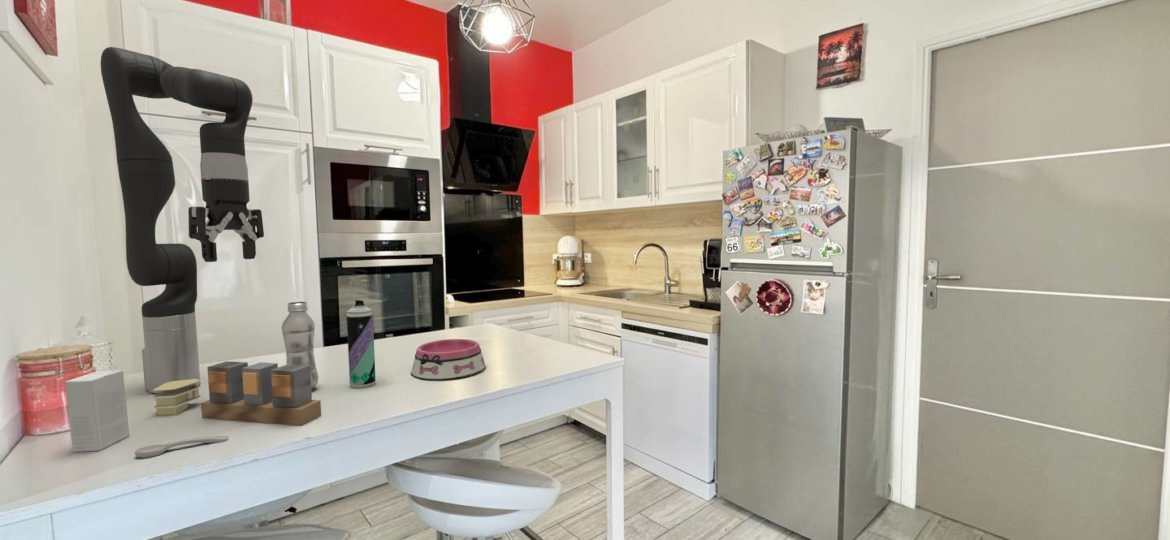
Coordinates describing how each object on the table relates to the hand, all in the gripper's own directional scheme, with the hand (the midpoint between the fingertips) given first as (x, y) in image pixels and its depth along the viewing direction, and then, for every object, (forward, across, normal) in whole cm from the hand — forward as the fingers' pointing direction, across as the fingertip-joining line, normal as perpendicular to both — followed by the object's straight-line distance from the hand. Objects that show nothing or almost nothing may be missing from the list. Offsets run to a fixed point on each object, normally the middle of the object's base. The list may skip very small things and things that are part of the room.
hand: (230, 260), depth 96 cm
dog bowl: (+31, -31, +31) cm, 53 cm away
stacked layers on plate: (+31, +3, -11) cm, 33 cm away
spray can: (+30, -17, +16) cm, 38 cm away
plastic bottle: (+30, -11, +5) cm, 33 cm away
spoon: (+31, +18, +7) cm, 36 cm away
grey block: (+27, +4, +9) cm, 29 cm away
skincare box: (+30, +19, -8) cm, 37 cm away
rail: (+30, +4, +9) cm, 32 cm away
